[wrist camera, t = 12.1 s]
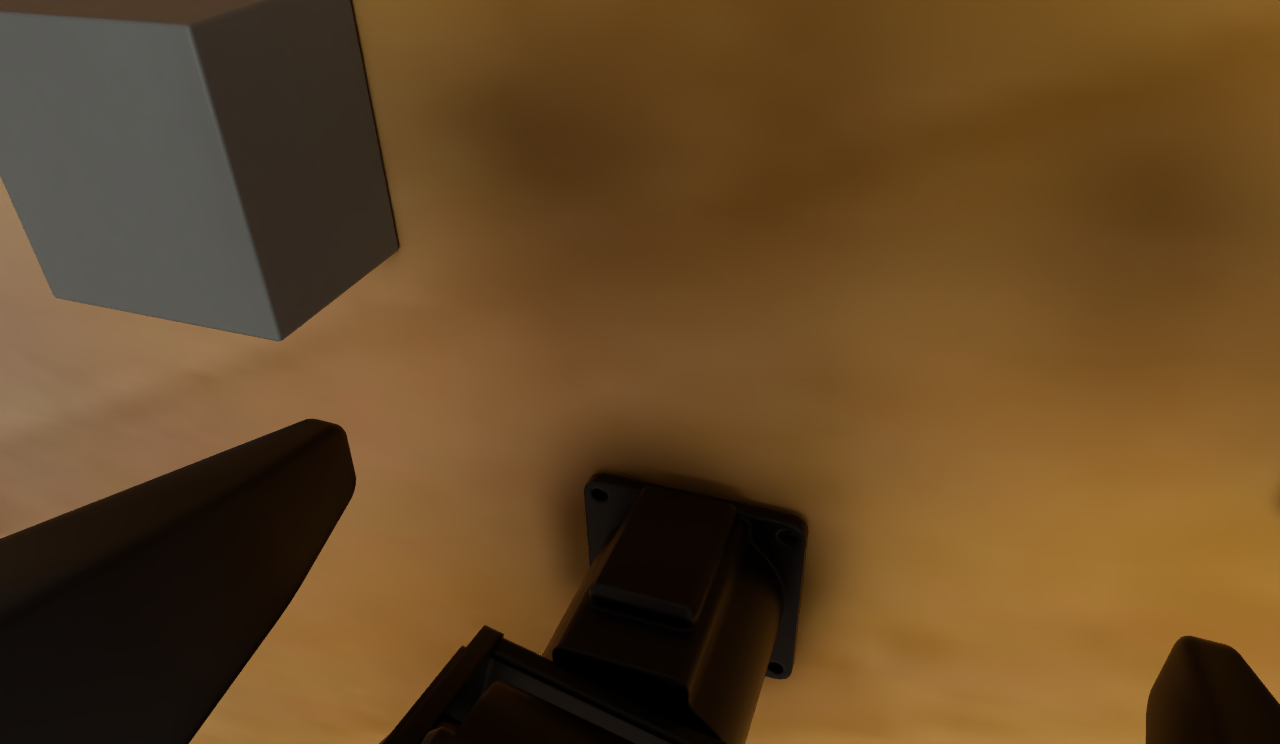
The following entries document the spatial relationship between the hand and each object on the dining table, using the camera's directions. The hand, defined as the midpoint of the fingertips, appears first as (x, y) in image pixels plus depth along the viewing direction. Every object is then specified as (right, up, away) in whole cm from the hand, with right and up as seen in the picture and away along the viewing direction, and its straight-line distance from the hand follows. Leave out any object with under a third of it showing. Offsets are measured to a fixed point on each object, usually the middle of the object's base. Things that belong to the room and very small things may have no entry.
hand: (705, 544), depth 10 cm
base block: (-11, +9, +14) cm, 20 cm away
